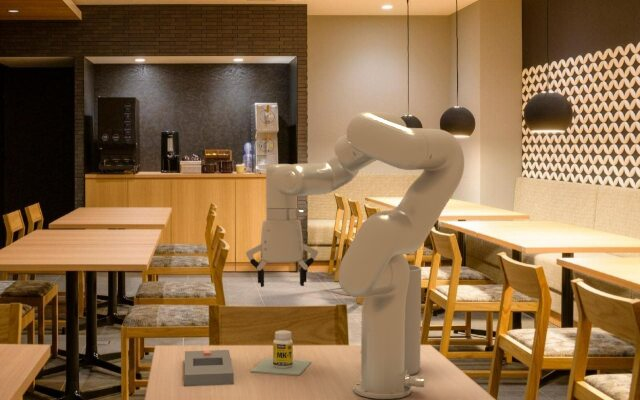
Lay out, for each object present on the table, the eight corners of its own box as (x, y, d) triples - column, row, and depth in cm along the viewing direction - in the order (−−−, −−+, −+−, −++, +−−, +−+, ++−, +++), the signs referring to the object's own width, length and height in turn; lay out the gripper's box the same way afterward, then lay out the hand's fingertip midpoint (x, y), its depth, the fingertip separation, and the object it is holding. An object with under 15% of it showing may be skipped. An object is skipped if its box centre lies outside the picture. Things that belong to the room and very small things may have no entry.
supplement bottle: (275, 369, 204) (275, 334, 203) (271, 364, 208) (271, 330, 208) (294, 367, 205) (294, 333, 204) (290, 363, 209) (290, 329, 209)
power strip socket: (184, 361, 212) (184, 348, 212) (228, 359, 214) (228, 347, 214) (184, 385, 191) (184, 372, 190) (233, 383, 192) (233, 370, 192)
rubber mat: (311, 362, 211) (311, 361, 211) (299, 375, 199) (299, 374, 199) (265, 360, 214) (265, 358, 214) (250, 372, 202) (250, 370, 202)
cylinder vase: (368, 377, 198) (369, 271, 197) (367, 363, 211) (368, 263, 209) (422, 377, 198) (423, 271, 196) (417, 364, 210) (418, 264, 209)
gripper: (315, 213, 209) (315, 282, 210) (245, 214, 207) (245, 284, 208) (319, 216, 201) (319, 287, 202) (246, 216, 199) (246, 289, 200)
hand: (282, 285), depth 205 cm, fingers open, 9 cm apart
